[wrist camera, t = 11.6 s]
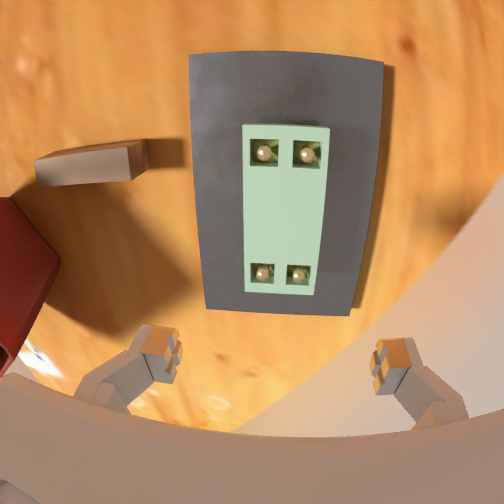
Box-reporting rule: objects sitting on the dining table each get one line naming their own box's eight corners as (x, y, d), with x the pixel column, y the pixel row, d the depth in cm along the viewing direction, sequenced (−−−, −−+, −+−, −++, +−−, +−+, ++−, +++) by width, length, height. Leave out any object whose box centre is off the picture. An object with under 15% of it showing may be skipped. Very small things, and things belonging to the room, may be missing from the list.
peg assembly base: (194, 56, 22) (169, 48, 17) (378, 63, 21) (403, 56, 15) (208, 300, 35) (196, 337, 30) (347, 307, 33) (355, 345, 28)
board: (312, 286, 27) (313, 295, 26) (246, 283, 28) (244, 291, 26) (327, 126, 20) (330, 128, 19) (244, 123, 21) (242, 124, 20)
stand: (56, 151, 27) (33, 160, 24) (146, 139, 26) (126, 147, 23) (60, 176, 29) (38, 187, 25) (149, 168, 28) (130, 180, 24)
